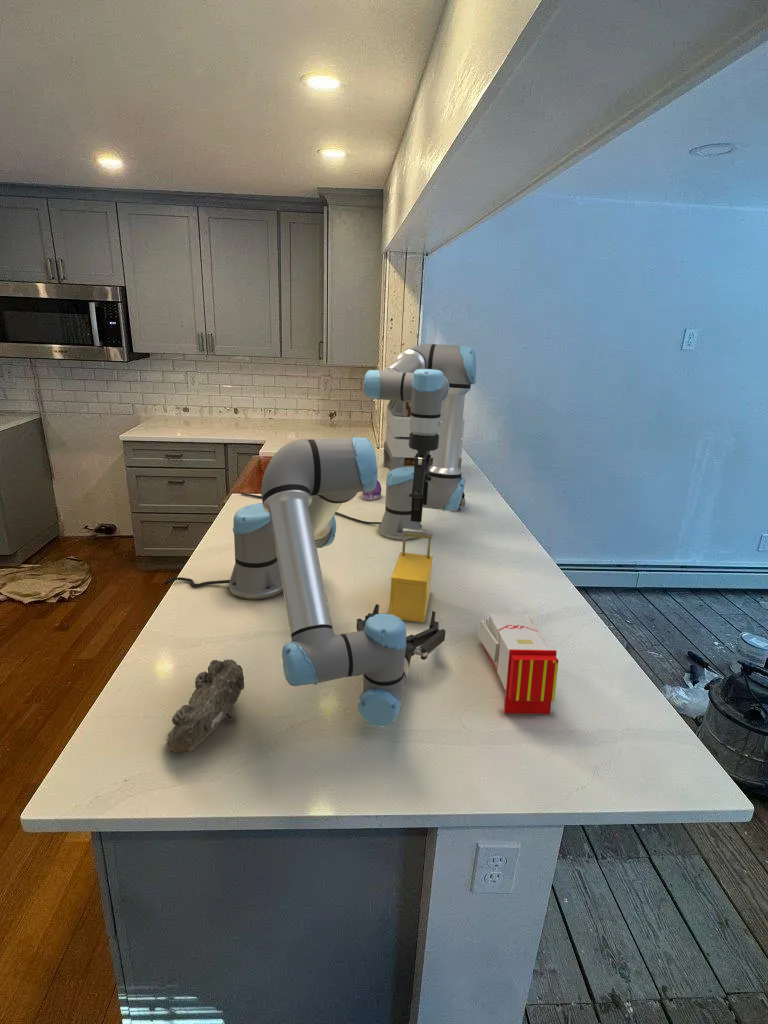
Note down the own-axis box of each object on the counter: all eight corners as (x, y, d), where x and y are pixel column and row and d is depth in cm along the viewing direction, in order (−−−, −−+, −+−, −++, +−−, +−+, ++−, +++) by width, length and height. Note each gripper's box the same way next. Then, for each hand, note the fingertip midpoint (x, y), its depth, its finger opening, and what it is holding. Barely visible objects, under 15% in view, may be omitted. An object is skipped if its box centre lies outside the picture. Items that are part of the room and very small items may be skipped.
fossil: (192, 660, 117) (244, 628, 112) (224, 691, 120) (276, 661, 115) (142, 746, 98) (202, 712, 93) (182, 779, 101) (242, 748, 96)
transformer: (382, 463, 289) (386, 382, 275) (445, 464, 293) (451, 384, 279) (390, 482, 257) (394, 392, 243) (460, 483, 261) (468, 394, 247)
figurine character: (465, 515, 224) (460, 499, 237) (467, 498, 221) (462, 483, 234) (448, 515, 224) (444, 499, 237) (450, 498, 220) (445, 482, 234)
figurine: (366, 502, 230) (367, 466, 225) (355, 494, 239) (356, 460, 234) (386, 499, 235) (388, 464, 229) (375, 492, 243) (377, 458, 238)
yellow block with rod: (400, 555, 157) (402, 525, 154) (432, 559, 155) (435, 528, 152) (391, 581, 142) (392, 548, 139) (426, 585, 140) (429, 552, 137)
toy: (524, 600, 137) (567, 656, 108) (520, 651, 140) (560, 720, 111) (474, 599, 137) (504, 655, 107) (471, 650, 140) (498, 719, 110)
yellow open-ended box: (398, 590, 160) (400, 556, 156) (429, 594, 159) (432, 560, 155) (389, 618, 145) (391, 581, 142) (424, 622, 144) (426, 585, 140)
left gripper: (331, 671, 119) (353, 619, 139) (450, 688, 115) (456, 633, 135) (331, 640, 116) (354, 592, 136) (453, 656, 113) (458, 605, 132)
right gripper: (435, 444, 130) (428, 530, 137) (442, 424, 153) (437, 499, 161) (402, 442, 131) (398, 527, 138) (415, 422, 154) (410, 496, 162)
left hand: (405, 612), depth 136 cm, fingers open, 13 cm apart
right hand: (419, 512), depth 150 cm, fingers open, 13 cm apart
